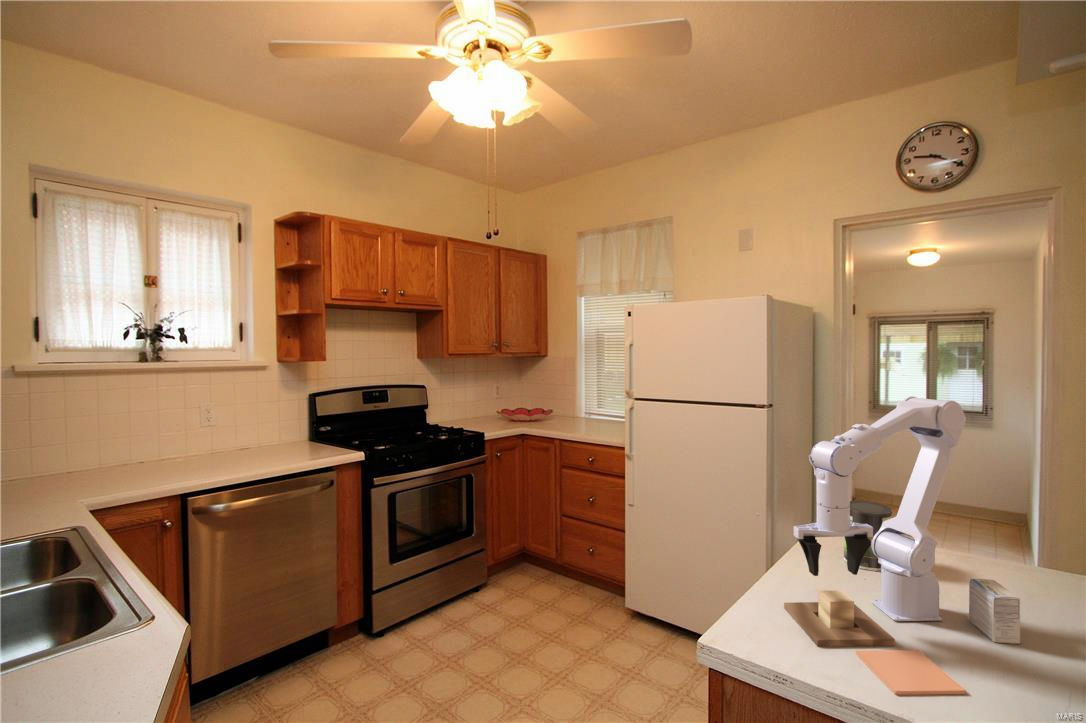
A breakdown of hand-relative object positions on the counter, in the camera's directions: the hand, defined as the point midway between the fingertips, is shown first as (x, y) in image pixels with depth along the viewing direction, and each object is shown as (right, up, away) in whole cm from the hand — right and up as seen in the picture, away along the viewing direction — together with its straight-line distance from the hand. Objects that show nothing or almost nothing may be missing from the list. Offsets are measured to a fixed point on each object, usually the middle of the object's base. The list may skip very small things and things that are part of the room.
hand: (833, 573), depth 105 cm
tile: (+4, -11, -15) cm, 19 cm away
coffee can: (+24, -9, +29) cm, 39 cm away
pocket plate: (+1, -10, 0) cm, 10 cm away
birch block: (+1, -10, 0) cm, 10 cm away
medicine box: (+29, -10, -3) cm, 31 cm away
